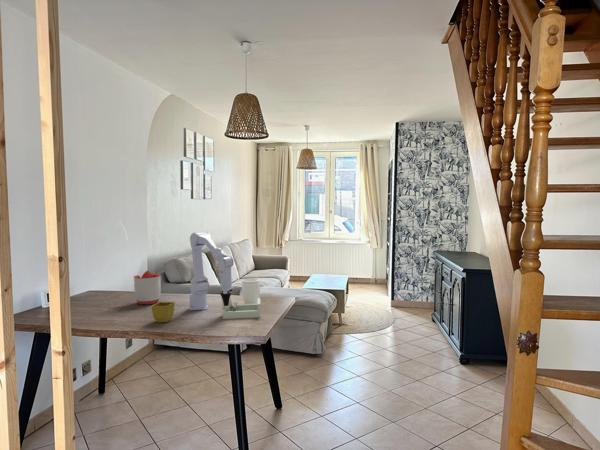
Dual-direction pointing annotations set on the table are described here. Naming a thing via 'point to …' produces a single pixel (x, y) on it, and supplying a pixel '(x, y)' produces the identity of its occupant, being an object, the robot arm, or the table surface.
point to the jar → (250, 290)
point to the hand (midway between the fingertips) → (226, 304)
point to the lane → (244, 311)
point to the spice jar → (229, 303)
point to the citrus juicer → (147, 288)
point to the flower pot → (163, 311)
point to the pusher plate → (235, 307)
